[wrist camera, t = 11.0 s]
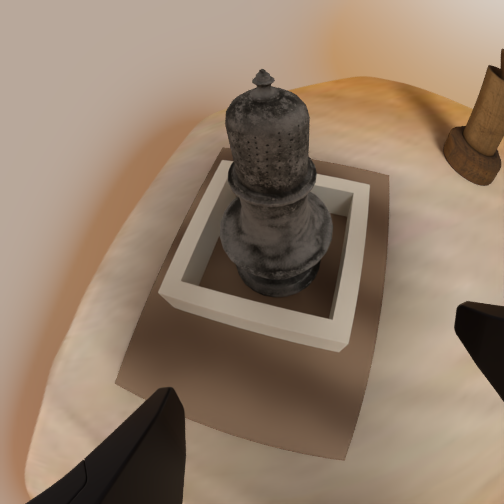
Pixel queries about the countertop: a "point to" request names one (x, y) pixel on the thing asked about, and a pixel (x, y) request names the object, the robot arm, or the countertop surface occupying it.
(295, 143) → the salt shaker
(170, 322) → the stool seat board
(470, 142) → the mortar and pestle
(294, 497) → the countertop surface
